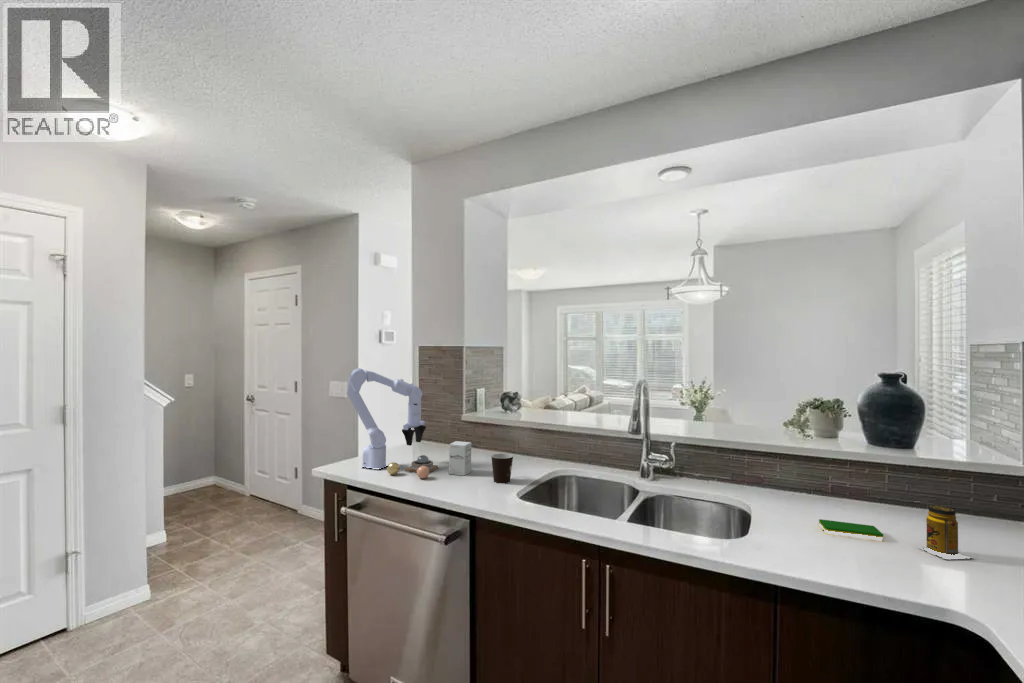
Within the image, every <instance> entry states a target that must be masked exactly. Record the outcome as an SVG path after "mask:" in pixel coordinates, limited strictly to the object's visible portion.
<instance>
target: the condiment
mask: <svg viewBox="0 0 1024 683" xmlns="http://www.w3.org/2000/svg"><path fill="white" fill-rule="evenodd" d="M927 509H928V512H927V514H928V515H927V516H926V518H925V520H926V548H927V547H928V548H930V549H932V550H934V551H937V552H941V553H946V554H951V555H952V554H953V555H955V554H958V553H959V523H958V521H957V517H956V513H957V512H956V511H955V510H954V509H953V508H951V507H947V506H943V505H942V506H941V505H934V504H933V505H928V508H927Z"/></svg>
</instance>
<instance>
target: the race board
mask: <svg viewBox="0 0 1024 683" xmlns="http://www.w3.org/2000/svg"><path fill="white" fill-rule="evenodd" d="M410 464H411V466H409V467H407V468H405V472H406V471H411V472H410V473H413V472H417V469H418V468H419V467H420V466H426V467H428V469H429V472H430V473H432V472H433V470H434V471H435V469H436V470H438V469H439V465H437V464H434V461H432V460H430V459H429V463H428V464H421V465H420V464H417V460H413V461H411V463H410ZM437 468H438V469H437ZM431 471H432V472H431Z"/></svg>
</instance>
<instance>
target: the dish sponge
mask: <svg viewBox="0 0 1024 683" xmlns="http://www.w3.org/2000/svg"><path fill="white" fill-rule="evenodd" d="M819 522H820V524H821V525H822V526H823V528H824V529H825V530H828V531H835V532H843V533H851V534H862V535H868V536H876V537H883V538H884V534H883V533H882V532H881V531H880V529H878V528H876V526H874V525H872V524H871V525H868V524H862V523H861V524H860V523H854V522H853V523H852V522H847V521H846V522H845V521H836V520H829V519H820V518H819V519H818V523H819Z"/></svg>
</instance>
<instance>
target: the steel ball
mask: <svg viewBox="0 0 1024 683" xmlns="http://www.w3.org/2000/svg"><path fill="white" fill-rule="evenodd" d="M429 460H430V458H429V457H428V456H427V455H425V454H421V455H419V456H418V457H417V464H420V465H421V464H428V463H429Z"/></svg>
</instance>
